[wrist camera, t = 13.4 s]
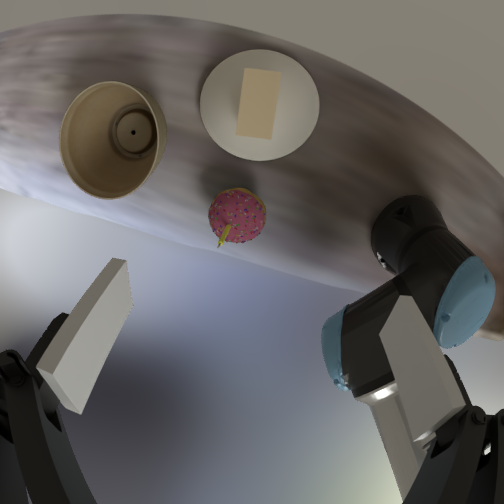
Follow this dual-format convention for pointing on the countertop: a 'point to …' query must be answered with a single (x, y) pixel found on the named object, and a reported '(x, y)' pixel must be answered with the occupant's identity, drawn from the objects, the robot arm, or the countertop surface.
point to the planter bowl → (112, 139)
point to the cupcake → (237, 215)
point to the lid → (259, 105)
